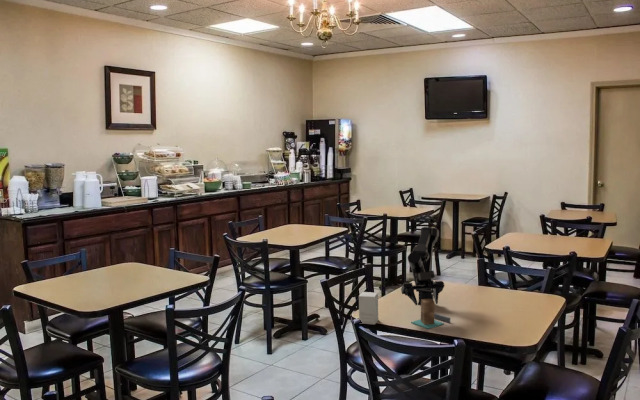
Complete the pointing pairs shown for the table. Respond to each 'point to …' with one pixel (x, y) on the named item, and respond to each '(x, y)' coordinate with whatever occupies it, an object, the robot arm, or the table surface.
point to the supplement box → (368, 307)
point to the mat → (428, 326)
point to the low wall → (442, 317)
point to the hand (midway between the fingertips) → (426, 304)
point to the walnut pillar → (427, 311)
